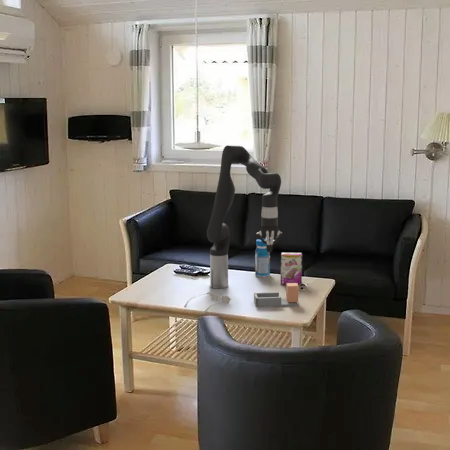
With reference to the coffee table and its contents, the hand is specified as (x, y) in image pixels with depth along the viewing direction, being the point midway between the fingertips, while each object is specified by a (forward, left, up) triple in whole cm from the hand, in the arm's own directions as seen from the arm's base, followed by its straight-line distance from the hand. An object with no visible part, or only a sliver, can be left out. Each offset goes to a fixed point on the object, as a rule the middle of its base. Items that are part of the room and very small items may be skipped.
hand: (269, 252), depth 316 cm
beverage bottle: (+3, +51, -26) cm, 57 cm away
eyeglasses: (-30, +1, -26) cm, 40 cm away
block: (+11, 0, -24) cm, 27 cm away
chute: (+3, 0, -26) cm, 26 cm away
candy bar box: (+16, +33, -26) cm, 45 cm away
